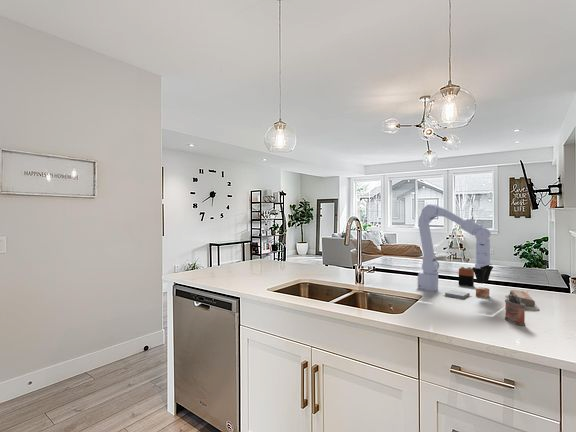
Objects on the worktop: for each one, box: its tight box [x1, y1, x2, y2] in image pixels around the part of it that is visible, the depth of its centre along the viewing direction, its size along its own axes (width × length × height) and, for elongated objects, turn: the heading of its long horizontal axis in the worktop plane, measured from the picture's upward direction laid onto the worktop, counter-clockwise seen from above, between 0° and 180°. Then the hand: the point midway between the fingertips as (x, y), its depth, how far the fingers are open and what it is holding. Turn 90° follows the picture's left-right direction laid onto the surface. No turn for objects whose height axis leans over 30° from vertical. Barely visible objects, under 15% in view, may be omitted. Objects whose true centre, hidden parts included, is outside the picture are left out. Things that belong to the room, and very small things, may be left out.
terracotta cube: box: [475, 286, 490, 298], centre depth 157 cm, size 4×4×4 cm
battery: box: [458, 266, 475, 288], centre depth 183 cm, size 4×7×10 cm, turn 50°
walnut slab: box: [442, 294, 473, 301], centre depth 157 cm, size 10×10×2 cm
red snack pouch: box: [504, 293, 526, 327], centre depth 122 cm, size 8×3×10 cm, turn 5°
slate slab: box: [444, 289, 471, 300], centre depth 157 cm, size 8×8×2 cm
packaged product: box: [504, 289, 540, 312], centre depth 147 cm, size 18×5×10 cm
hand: (482, 282), depth 157 cm, fingers open, 7 cm apart
